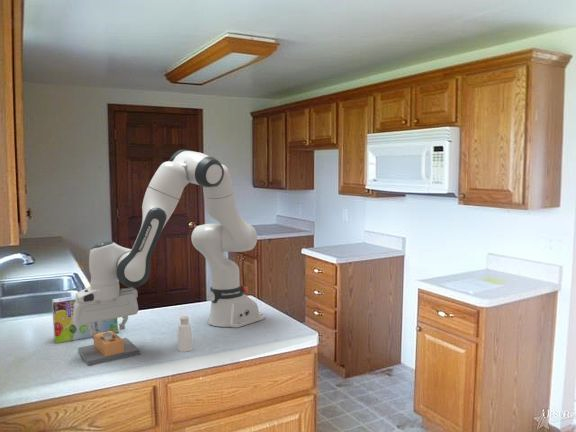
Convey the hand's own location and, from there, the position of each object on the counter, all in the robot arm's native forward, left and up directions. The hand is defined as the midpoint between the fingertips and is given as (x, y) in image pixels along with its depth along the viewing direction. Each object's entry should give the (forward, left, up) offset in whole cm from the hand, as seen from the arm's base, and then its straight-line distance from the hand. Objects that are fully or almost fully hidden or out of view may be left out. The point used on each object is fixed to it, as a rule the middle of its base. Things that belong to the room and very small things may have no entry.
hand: (107, 332), depth 162 cm
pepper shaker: (-22, +13, -7) cm, 26 cm away
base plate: (0, +1, -7) cm, 7 cm away
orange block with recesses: (0, +1, -5) cm, 6 cm away
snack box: (+2, -21, -7) cm, 22 cm away
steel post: (0, +1, -7) cm, 7 cm away
